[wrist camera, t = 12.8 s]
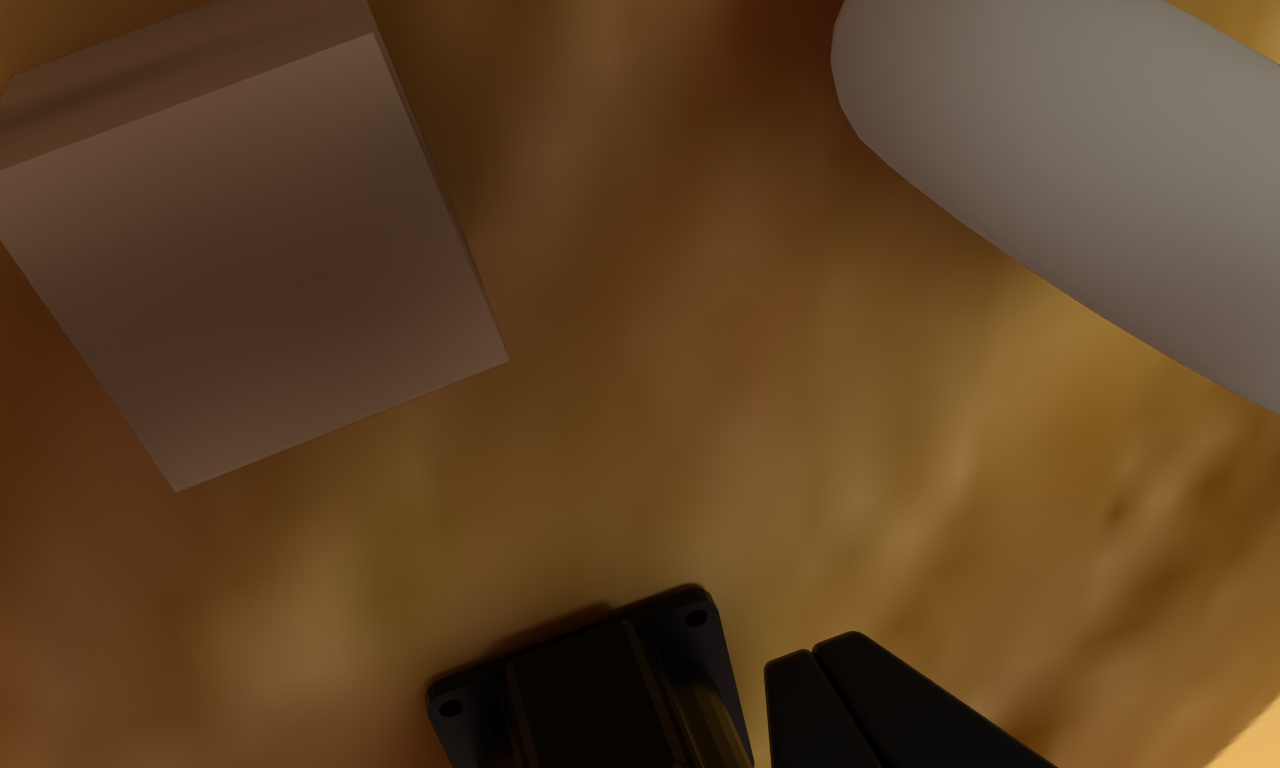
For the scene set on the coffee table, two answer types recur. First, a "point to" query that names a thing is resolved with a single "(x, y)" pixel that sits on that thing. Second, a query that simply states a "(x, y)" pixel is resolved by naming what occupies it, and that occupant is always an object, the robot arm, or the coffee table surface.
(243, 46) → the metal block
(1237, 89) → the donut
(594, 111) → the coffee table surface
